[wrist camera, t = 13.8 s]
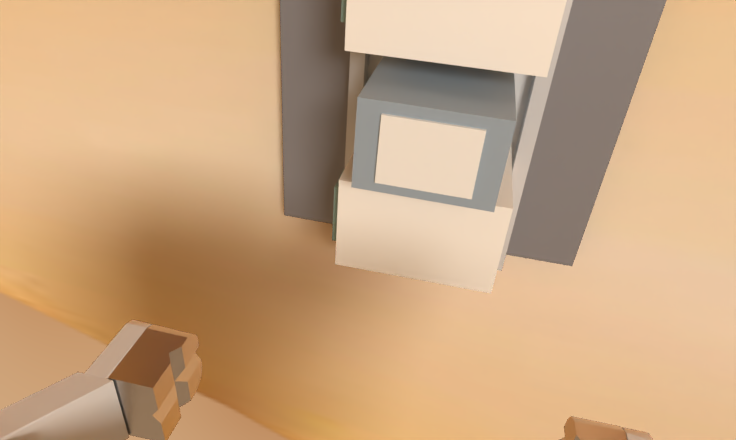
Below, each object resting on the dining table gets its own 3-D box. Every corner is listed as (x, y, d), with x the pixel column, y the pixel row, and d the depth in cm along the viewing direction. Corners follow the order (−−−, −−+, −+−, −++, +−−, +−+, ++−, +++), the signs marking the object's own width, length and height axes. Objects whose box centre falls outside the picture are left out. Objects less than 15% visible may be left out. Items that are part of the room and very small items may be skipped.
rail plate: (710, -157, 23) (811, -168, 16) (569, 252, 35) (587, 357, 28) (287, -187, 26) (195, -210, 18) (291, 204, 38) (238, 288, 30)
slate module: (513, 52, 27) (516, 122, 20) (496, 126, 30) (494, 214, 22) (396, 36, 28) (356, 98, 21) (388, 109, 30) (350, 189, 23)
